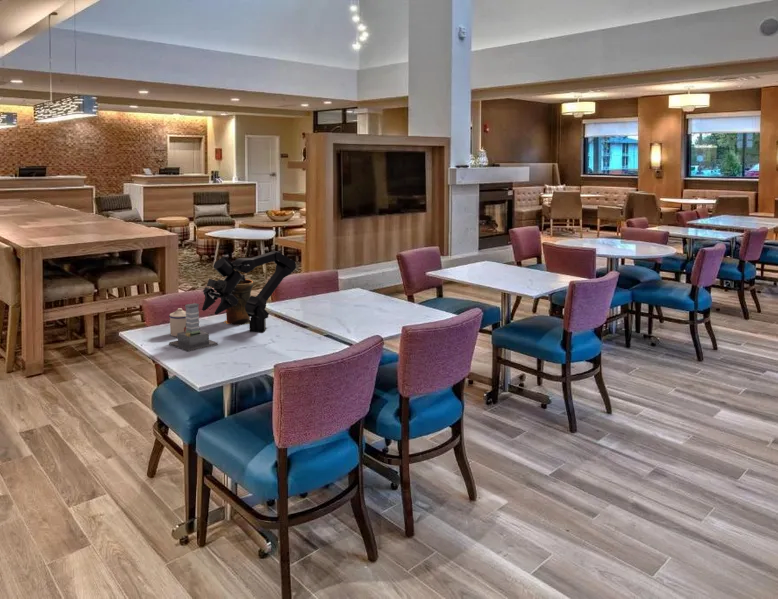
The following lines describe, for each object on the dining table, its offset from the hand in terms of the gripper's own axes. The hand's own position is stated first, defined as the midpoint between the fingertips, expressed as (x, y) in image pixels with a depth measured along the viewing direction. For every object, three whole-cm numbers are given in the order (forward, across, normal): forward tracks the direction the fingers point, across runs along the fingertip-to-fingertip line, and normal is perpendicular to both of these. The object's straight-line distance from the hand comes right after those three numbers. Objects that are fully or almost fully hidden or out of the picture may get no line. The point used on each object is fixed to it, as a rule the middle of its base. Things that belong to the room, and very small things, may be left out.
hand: (209, 312), depth 265 cm
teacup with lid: (+10, -19, +8) cm, 23 cm away
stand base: (+15, 0, +3) cm, 15 cm away
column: (+11, 0, 0) cm, 11 cm away
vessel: (-11, -20, +30) cm, 37 cm away
